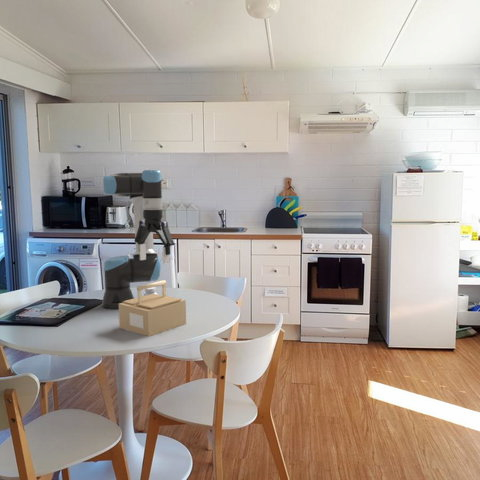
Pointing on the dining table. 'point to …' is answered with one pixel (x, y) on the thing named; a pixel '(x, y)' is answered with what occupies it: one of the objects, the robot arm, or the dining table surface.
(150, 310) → the carton
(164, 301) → the flap
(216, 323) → the dining table surface
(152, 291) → the pill bottle
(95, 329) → the dining table surface
